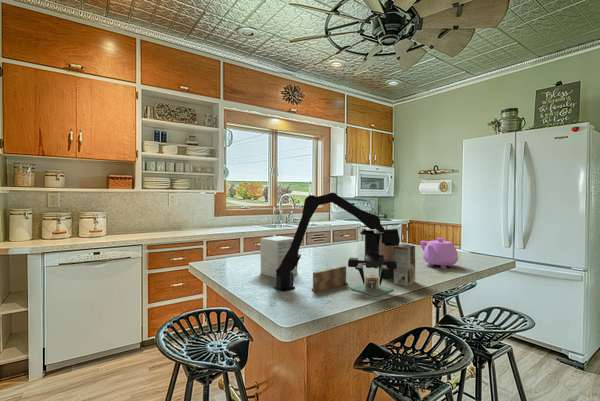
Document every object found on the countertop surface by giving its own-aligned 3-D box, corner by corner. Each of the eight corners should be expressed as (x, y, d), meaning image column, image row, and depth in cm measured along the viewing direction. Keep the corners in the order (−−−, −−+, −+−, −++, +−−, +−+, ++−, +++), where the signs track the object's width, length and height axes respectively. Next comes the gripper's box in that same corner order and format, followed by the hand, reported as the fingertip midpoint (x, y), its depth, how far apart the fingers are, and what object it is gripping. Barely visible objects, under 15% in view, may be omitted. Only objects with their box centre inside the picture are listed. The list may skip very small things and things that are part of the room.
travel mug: (398, 278, 146) (399, 234, 145) (385, 279, 143) (385, 235, 143) (388, 274, 153) (388, 232, 152) (375, 275, 150) (375, 233, 150)
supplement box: (298, 273, 154) (298, 237, 154) (277, 278, 145) (277, 240, 145) (280, 269, 164) (280, 235, 164) (259, 273, 155) (259, 237, 154)
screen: (317, 293, 124) (317, 273, 124) (310, 290, 127) (310, 271, 127) (348, 284, 136) (348, 266, 135) (341, 282, 139) (341, 265, 138)
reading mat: (375, 296, 119) (375, 295, 119) (350, 289, 128) (350, 288, 128) (393, 290, 127) (393, 288, 127) (369, 284, 136) (369, 282, 136)
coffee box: (401, 279, 143) (401, 243, 143) (415, 282, 139) (415, 245, 139) (393, 284, 136) (393, 246, 136) (408, 286, 132) (408, 247, 132)
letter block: (365, 290, 125) (365, 277, 125) (365, 286, 130) (365, 274, 130) (378, 291, 124) (378, 278, 124) (378, 287, 129) (378, 274, 129)
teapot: (408, 265, 171) (408, 237, 171) (427, 260, 184) (427, 234, 184) (444, 272, 156) (445, 241, 156) (462, 266, 169) (462, 238, 169)
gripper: (347, 248, 121) (347, 289, 122) (398, 250, 117) (397, 292, 118) (348, 243, 132) (348, 281, 132) (395, 245, 128) (395, 283, 128)
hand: (371, 284), depth 127 cm, fingers open, 6 cm apart
